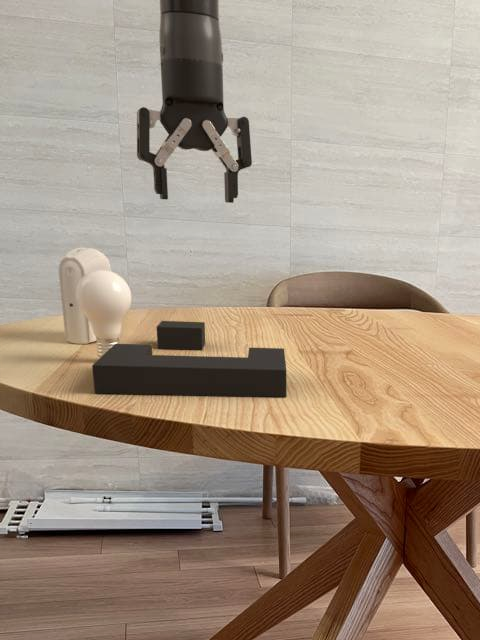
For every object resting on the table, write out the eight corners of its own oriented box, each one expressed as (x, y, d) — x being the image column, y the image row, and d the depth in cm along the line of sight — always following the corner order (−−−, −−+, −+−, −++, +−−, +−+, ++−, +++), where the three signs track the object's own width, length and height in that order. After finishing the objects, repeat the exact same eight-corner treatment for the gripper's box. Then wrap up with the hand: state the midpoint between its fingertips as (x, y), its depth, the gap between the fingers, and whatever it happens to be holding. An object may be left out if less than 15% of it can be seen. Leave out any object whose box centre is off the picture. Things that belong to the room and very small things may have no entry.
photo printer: (91, 345, 114) (83, 250, 109) (61, 343, 114) (51, 248, 109) (120, 334, 123) (113, 247, 118) (91, 332, 123) (84, 245, 119)
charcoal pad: (94, 393, 87) (91, 365, 86) (116, 368, 99) (114, 343, 98) (286, 397, 90) (286, 369, 89) (284, 372, 103) (284, 348, 101)
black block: (157, 348, 114) (156, 326, 112) (162, 342, 119) (161, 320, 118) (202, 350, 115) (201, 328, 113) (205, 343, 120) (204, 322, 119)
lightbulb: (145, 360, 106) (140, 270, 101) (116, 367, 100) (109, 272, 96) (103, 355, 107) (95, 266, 103) (71, 362, 101) (62, 268, 97)
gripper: (241, 70, 109) (243, 203, 115) (128, 57, 103) (137, 197, 109) (255, 63, 102) (257, 204, 108) (136, 49, 97) (145, 198, 103)
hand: (197, 201), depth 109 cm, fingers open, 8 cm apart
